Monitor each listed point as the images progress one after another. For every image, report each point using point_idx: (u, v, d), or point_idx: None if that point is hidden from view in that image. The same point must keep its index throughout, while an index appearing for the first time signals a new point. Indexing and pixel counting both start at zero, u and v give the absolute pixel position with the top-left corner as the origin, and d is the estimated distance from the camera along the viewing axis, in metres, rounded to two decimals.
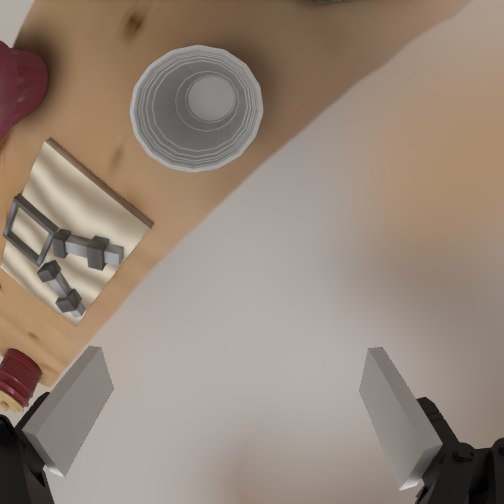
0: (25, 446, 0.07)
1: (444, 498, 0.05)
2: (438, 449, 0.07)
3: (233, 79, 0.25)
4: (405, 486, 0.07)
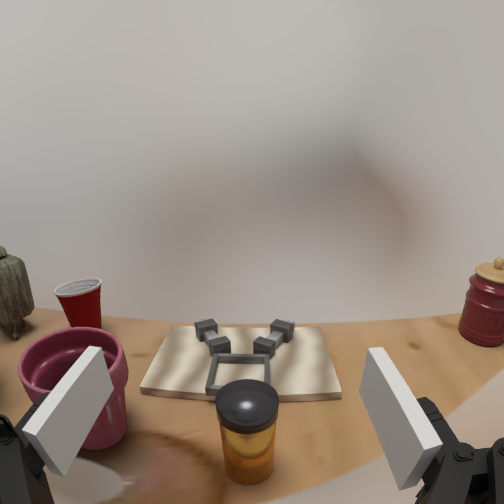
0: (25, 446, 0.07)
1: (444, 498, 0.05)
2: (438, 449, 0.07)
3: None
4: (404, 486, 0.07)
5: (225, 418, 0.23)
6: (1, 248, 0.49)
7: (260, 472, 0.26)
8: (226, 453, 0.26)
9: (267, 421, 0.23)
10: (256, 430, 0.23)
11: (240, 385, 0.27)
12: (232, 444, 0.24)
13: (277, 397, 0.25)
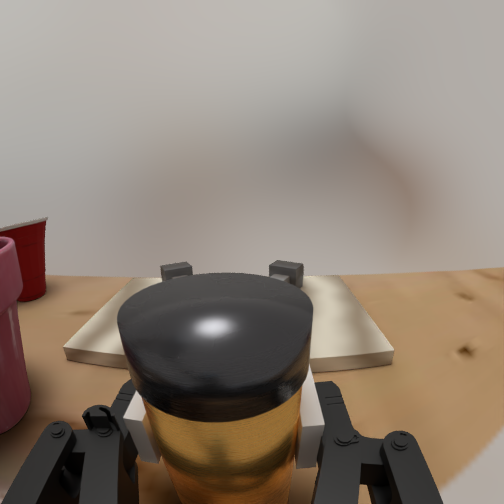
0: (125, 440, 0.08)
1: (334, 485, 0.06)
2: (322, 430, 0.09)
3: None
4: (300, 464, 0.09)
5: (134, 357, 0.07)
6: None
7: None
8: (170, 475, 0.09)
9: (281, 372, 0.07)
10: (243, 408, 0.07)
11: (201, 282, 0.11)
12: (175, 454, 0.08)
13: (308, 301, 0.09)
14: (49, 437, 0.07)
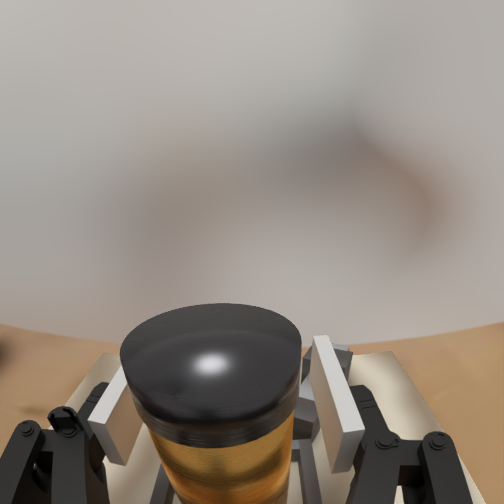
0: (90, 440, 0.08)
1: (373, 487, 0.06)
2: (362, 434, 0.08)
3: None
4: (336, 470, 0.09)
5: (137, 392, 0.07)
6: None
7: None
8: (174, 489, 0.10)
9: (270, 405, 0.07)
10: (236, 436, 0.07)
11: (198, 314, 0.11)
12: (177, 472, 0.08)
13: (298, 335, 0.09)
14: (19, 436, 0.07)
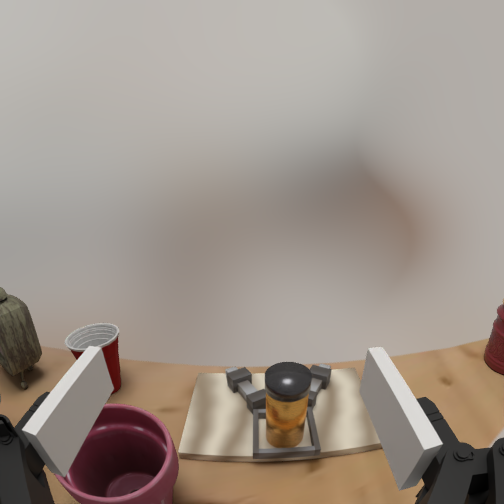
0: (25, 446, 0.07)
1: (444, 498, 0.05)
2: (438, 449, 0.07)
3: None
4: (405, 486, 0.07)
5: (275, 390, 0.33)
6: (0, 290, 0.43)
7: (296, 436, 0.35)
8: (270, 422, 0.35)
9: (305, 390, 0.33)
10: (297, 398, 0.33)
11: (281, 366, 0.37)
12: (278, 412, 0.34)
13: (310, 373, 0.35)
14: None
